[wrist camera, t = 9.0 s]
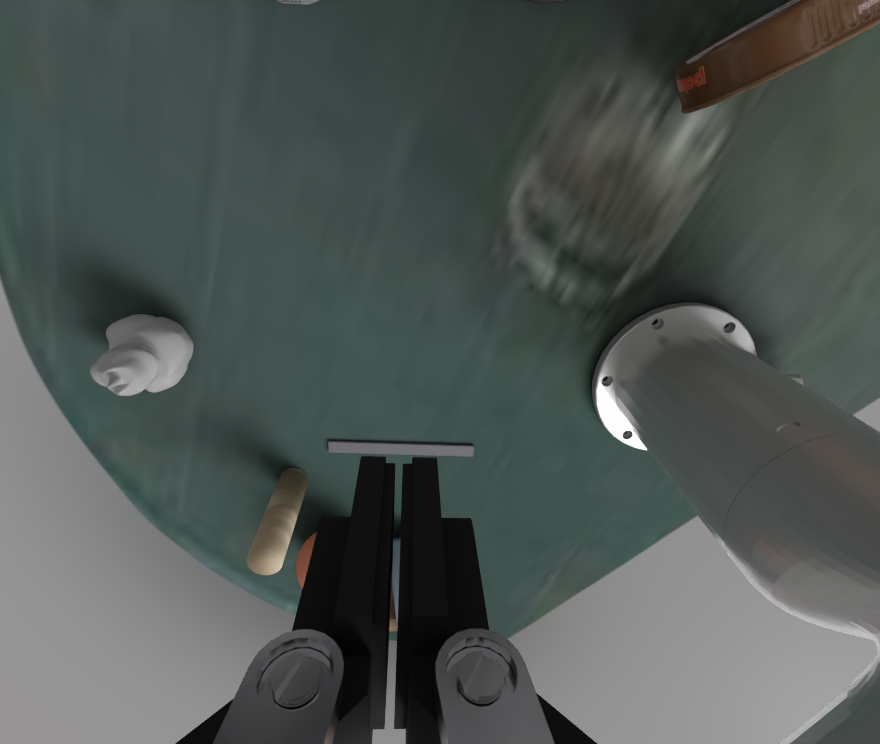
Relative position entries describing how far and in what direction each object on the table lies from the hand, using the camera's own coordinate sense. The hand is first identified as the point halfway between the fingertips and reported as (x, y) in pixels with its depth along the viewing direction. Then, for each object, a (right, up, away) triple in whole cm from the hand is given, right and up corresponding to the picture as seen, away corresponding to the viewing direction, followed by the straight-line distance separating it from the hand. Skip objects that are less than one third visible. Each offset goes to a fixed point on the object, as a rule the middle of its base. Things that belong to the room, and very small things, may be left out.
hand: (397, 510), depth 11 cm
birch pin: (-11, -6, +30) cm, 33 cm away
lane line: (-2, -3, +29) cm, 29 cm away
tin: (+21, +24, +18) cm, 36 cm away
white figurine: (-20, +5, +24) cm, 32 cm away
